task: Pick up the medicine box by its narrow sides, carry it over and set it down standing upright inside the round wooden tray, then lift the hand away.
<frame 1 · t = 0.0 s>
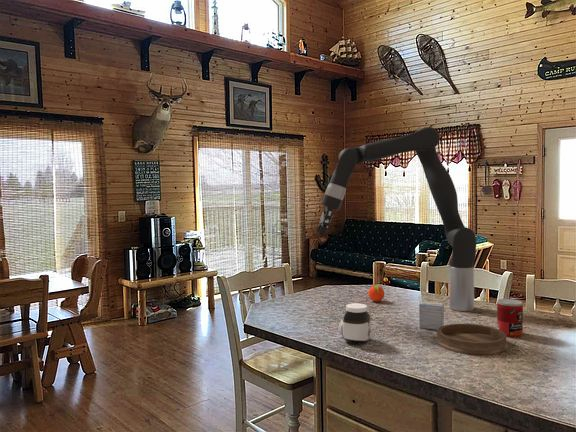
hand: (320, 234, 191), 31 cm above the counter, tool tilted 20°, fingers open, 8 cm apart
medicine box: (431, 328, 169), on the counter
round wooden tray: (471, 343, 151), on the counter
spread jar: (353, 339, 158), on the counter
canned food: (509, 334, 160), on the counter
clementine: (376, 302, 208), on the counter
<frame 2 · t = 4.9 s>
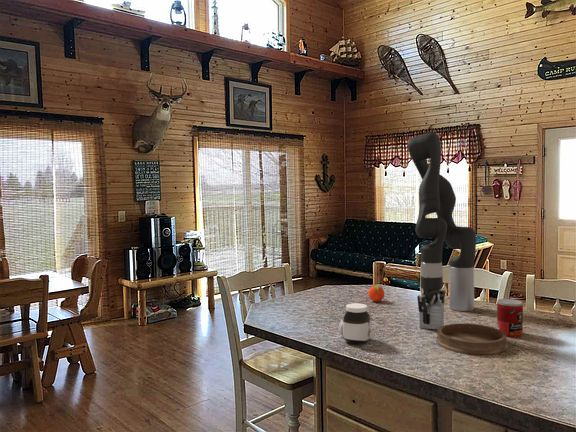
hand: (431, 321, 168), 2 cm above the counter, tool pointing down, fingers closed on medicine box, 6 cm apart
medicine box: (431, 328, 169), on the counter, touching gripper
everything else where it was.
when the fingers open (4 cm above the counter, at t = 11.9 s): medicine box drops 1 cm, resting on round wooden tray.
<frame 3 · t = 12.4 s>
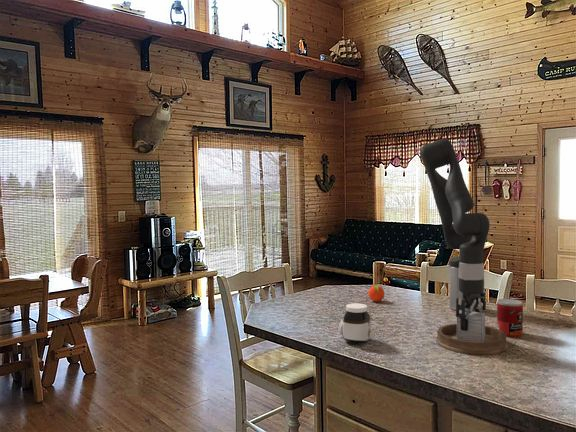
hand: (471, 327, 151), 5 cm above the counter, tool pointing down, fingers open, 8 cm apart
medicine box: (470, 340, 151), point 1 cm above the counter, touching round wooden tray
everything else where it was.
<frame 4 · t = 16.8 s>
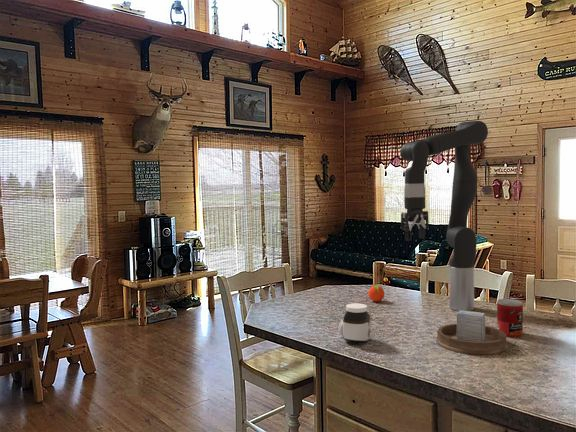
hand: (415, 239, 178), 30 cm above the counter, tool pointing down, fingers open, 8 cm apart
nothing on the counter moved.
at the end: medicine box inside the target area on the round wooden tray (0.4 cm from its centre), point 0.8 cm above the round wooden tray's base; medicine box tilted 0°; the gripper is holding nothing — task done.
